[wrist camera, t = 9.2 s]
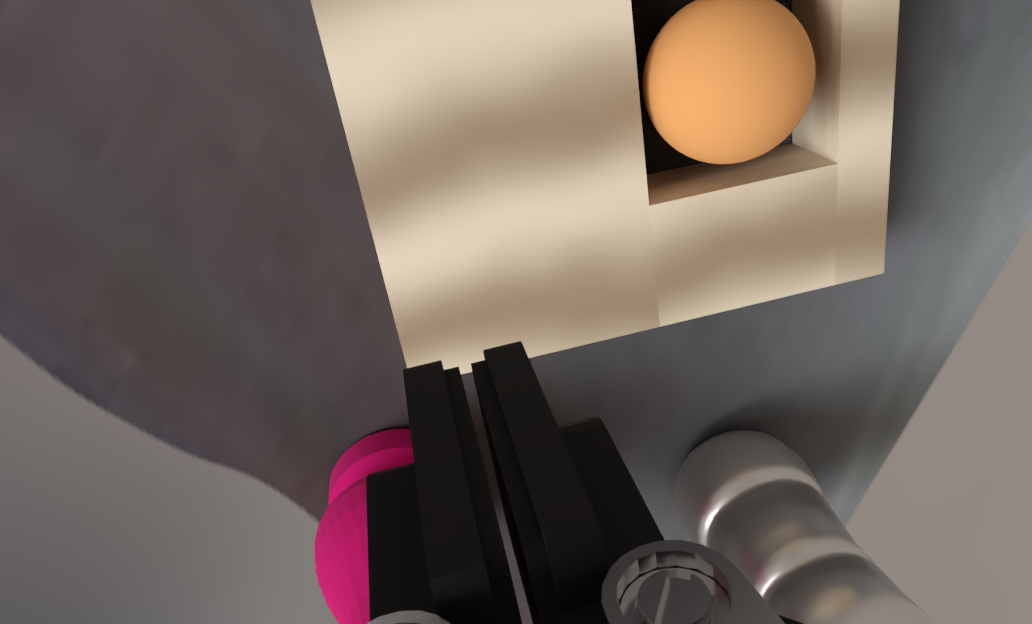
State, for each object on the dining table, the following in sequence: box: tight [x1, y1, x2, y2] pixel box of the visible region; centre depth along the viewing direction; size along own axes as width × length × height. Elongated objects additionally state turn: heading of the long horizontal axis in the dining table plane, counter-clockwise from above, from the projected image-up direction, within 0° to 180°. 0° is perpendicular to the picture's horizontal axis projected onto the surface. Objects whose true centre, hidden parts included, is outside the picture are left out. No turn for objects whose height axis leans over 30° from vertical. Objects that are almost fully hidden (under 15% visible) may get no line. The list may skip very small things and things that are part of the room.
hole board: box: [311, 0, 900, 374], centre depth 29 cm, size 18×20×4 cm
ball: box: [643, 0, 816, 164], centre depth 28 cm, size 6×6×6 cm
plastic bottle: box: [673, 431, 939, 624], centre depth 31 cm, size 6×7×20 cm
